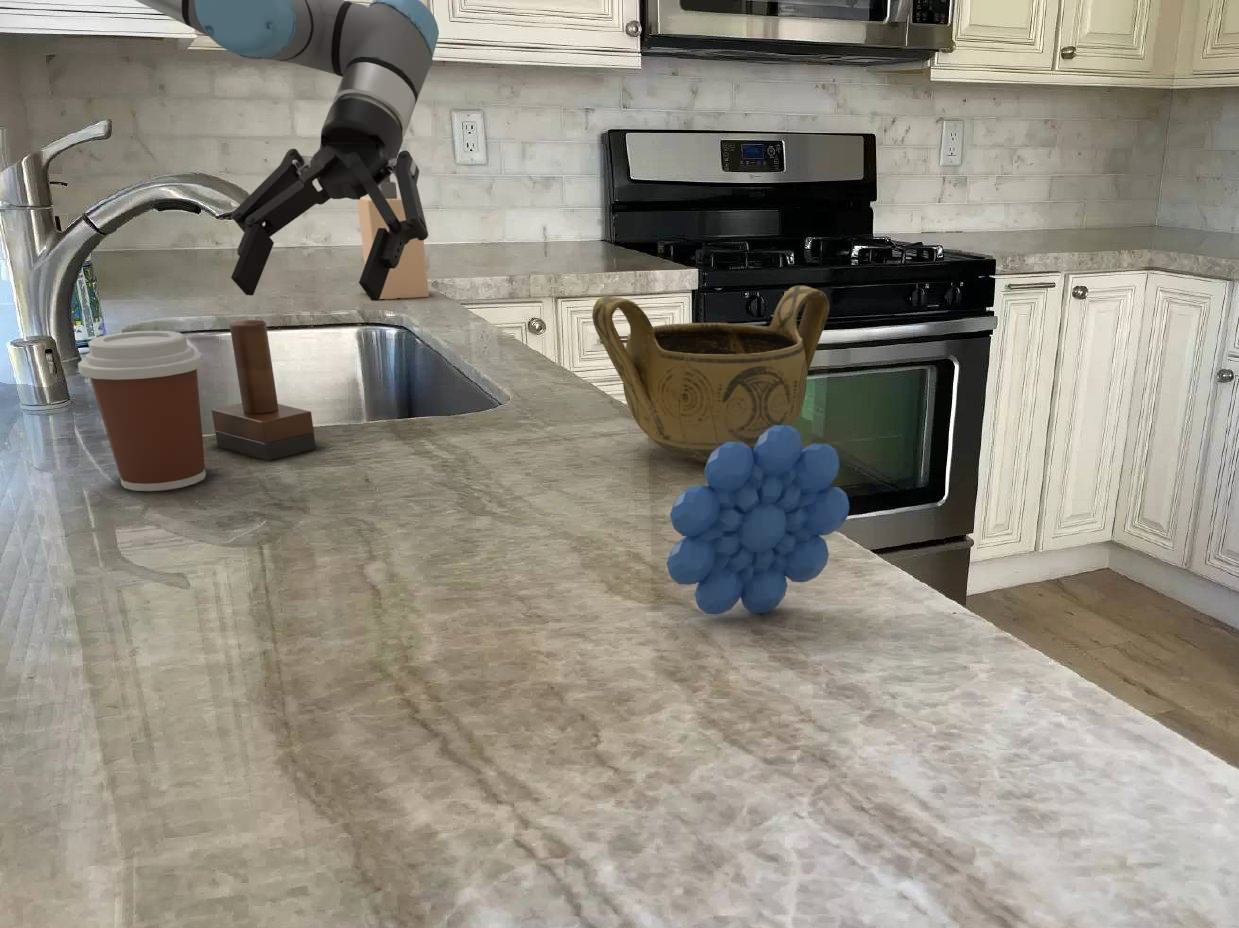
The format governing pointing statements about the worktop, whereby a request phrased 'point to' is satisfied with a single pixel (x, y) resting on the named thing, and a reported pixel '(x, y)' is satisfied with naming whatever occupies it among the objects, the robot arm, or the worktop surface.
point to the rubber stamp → (260, 403)
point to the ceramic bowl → (714, 372)
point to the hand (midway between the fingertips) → (304, 289)
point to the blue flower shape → (757, 521)
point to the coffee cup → (149, 406)
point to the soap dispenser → (412, 264)
